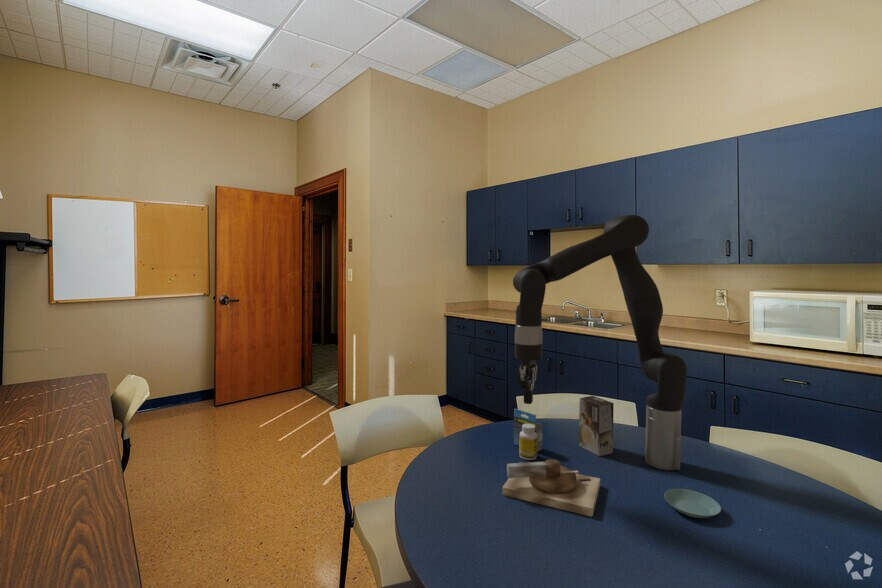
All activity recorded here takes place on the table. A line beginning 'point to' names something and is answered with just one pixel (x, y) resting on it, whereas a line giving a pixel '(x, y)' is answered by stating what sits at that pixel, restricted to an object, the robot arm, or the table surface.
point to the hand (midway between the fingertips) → (528, 403)
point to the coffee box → (596, 425)
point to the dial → (545, 475)
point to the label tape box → (522, 420)
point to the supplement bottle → (528, 442)
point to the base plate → (557, 494)
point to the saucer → (692, 503)
